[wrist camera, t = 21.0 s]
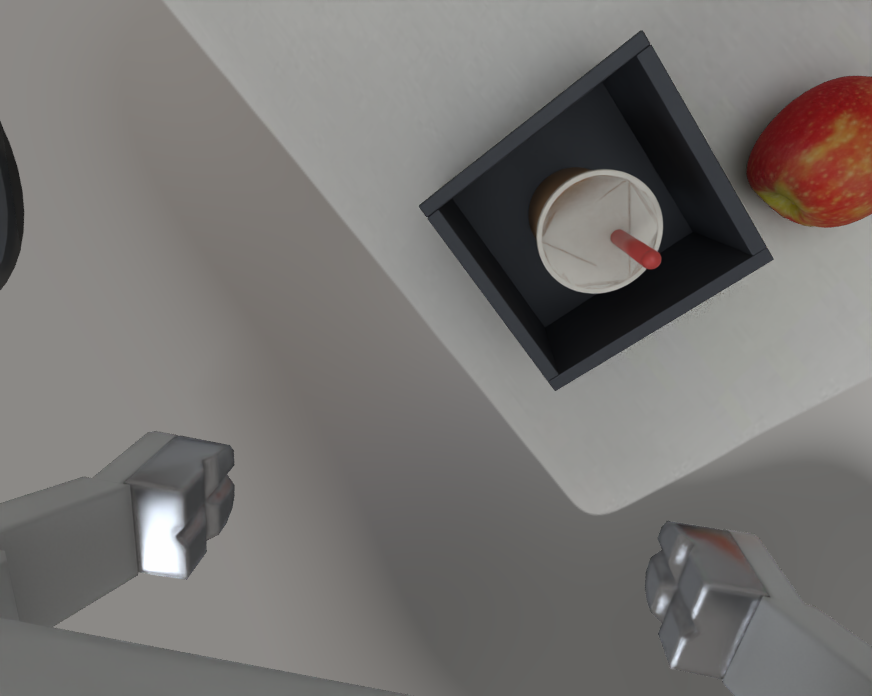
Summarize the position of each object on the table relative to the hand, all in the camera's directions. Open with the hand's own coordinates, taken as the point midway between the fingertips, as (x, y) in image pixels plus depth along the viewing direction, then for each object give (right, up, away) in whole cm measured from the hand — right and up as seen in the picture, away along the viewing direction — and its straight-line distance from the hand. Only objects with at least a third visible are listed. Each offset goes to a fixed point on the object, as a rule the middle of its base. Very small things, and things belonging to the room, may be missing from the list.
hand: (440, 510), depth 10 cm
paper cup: (+9, +12, +27) cm, 31 cm away
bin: (+9, +13, +28) cm, 32 cm away
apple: (+24, +16, +25) cm, 38 cm away
